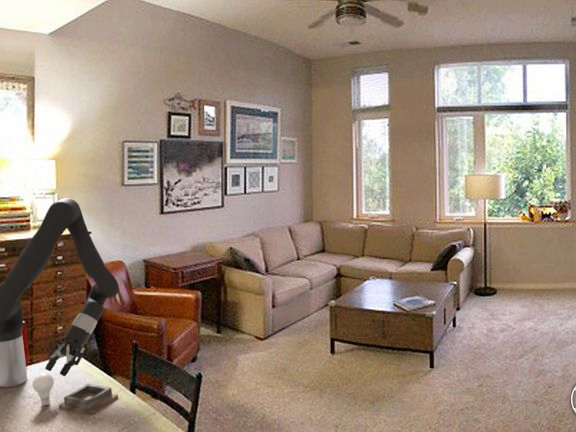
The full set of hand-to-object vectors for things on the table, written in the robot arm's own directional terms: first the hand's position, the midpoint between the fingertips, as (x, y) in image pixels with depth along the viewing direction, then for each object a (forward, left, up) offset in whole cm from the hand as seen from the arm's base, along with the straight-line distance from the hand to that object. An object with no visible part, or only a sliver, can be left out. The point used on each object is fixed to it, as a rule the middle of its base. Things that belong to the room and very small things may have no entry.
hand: (54, 372), depth 172 cm
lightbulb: (-1, -4, -10) cm, 11 cm away
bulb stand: (+12, +2, -10) cm, 16 cm away
